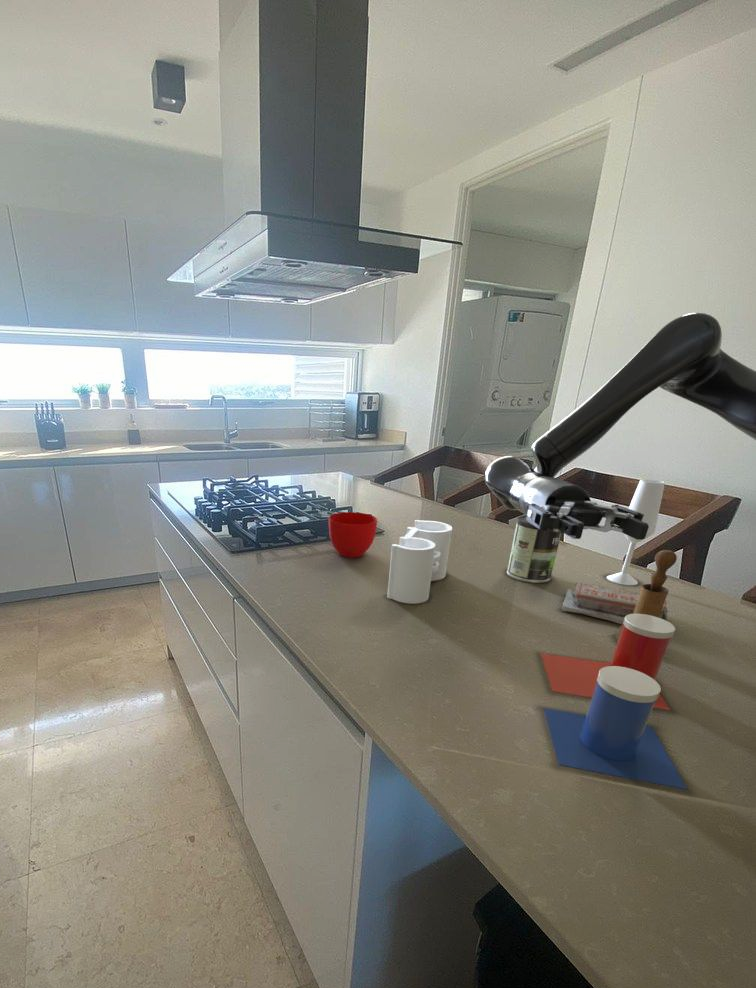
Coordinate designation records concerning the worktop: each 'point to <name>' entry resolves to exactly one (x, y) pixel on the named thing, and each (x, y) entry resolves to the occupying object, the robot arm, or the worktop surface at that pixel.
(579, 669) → the terracotta mat
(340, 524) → the ceramic cup
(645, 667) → the red canister
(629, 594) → the packaged product
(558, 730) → the blue mat
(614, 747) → the blue canister
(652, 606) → the mortar and pestle
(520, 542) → the coffee can
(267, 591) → the worktop surface
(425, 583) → the bracket
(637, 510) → the champagne flute
